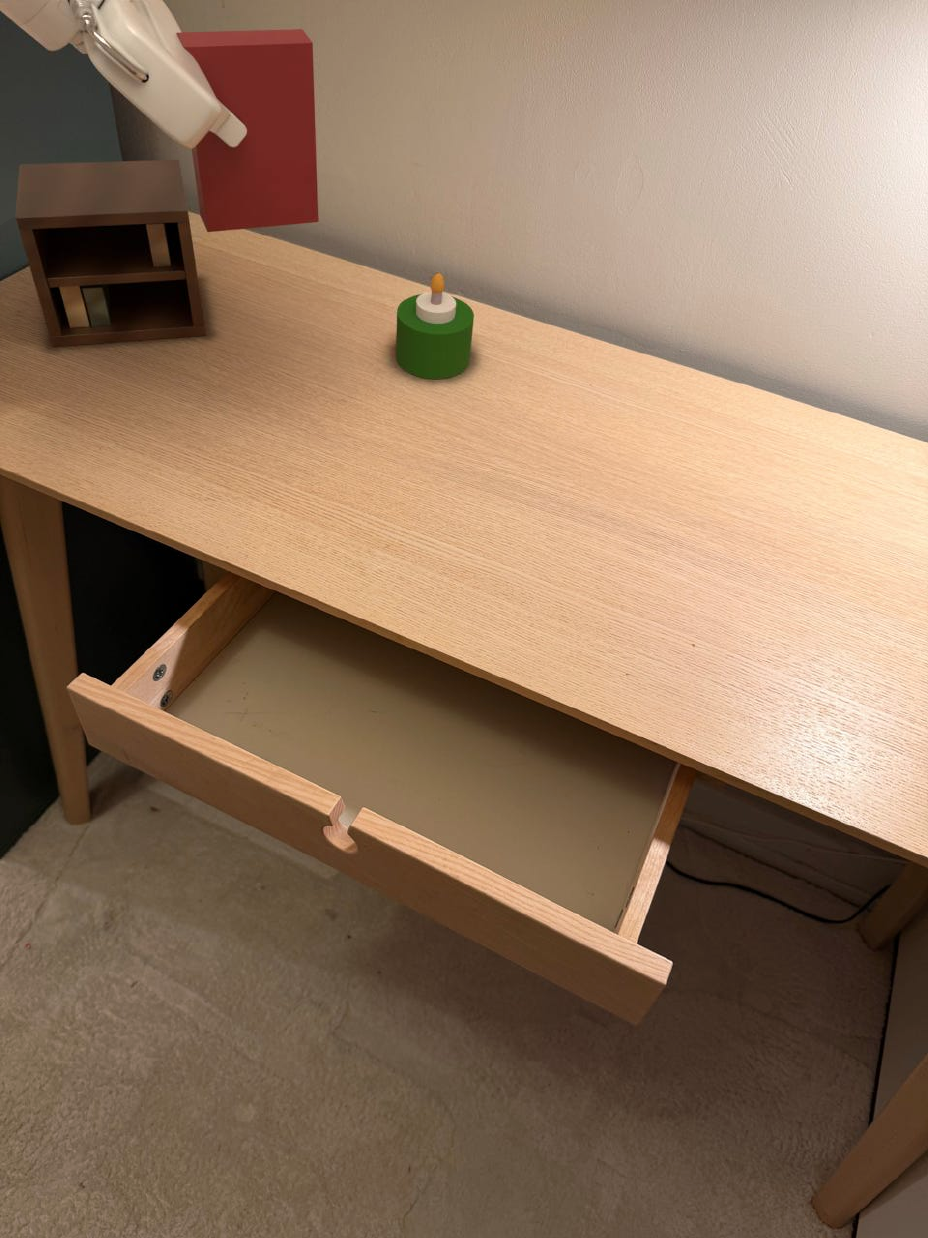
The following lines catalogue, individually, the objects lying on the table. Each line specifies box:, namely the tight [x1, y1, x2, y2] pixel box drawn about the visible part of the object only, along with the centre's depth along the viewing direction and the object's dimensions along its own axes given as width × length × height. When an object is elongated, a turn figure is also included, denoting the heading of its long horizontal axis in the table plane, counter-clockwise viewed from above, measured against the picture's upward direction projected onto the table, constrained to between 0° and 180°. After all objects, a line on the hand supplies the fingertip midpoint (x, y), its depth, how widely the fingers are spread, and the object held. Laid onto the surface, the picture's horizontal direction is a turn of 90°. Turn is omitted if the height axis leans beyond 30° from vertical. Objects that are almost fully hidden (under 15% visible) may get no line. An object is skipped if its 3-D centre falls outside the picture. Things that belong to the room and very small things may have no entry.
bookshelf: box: [15, 159, 207, 348], centre depth 98 cm, size 16×12×14 cm
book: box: [176, 28, 320, 233], centre depth 69 cm, size 9×3×13 cm, turn 111°
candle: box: [395, 272, 475, 380], centre depth 98 cm, size 8×8×10 cm
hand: (233, 124), depth 68 cm, fingers closed on book, 3 cm apart
